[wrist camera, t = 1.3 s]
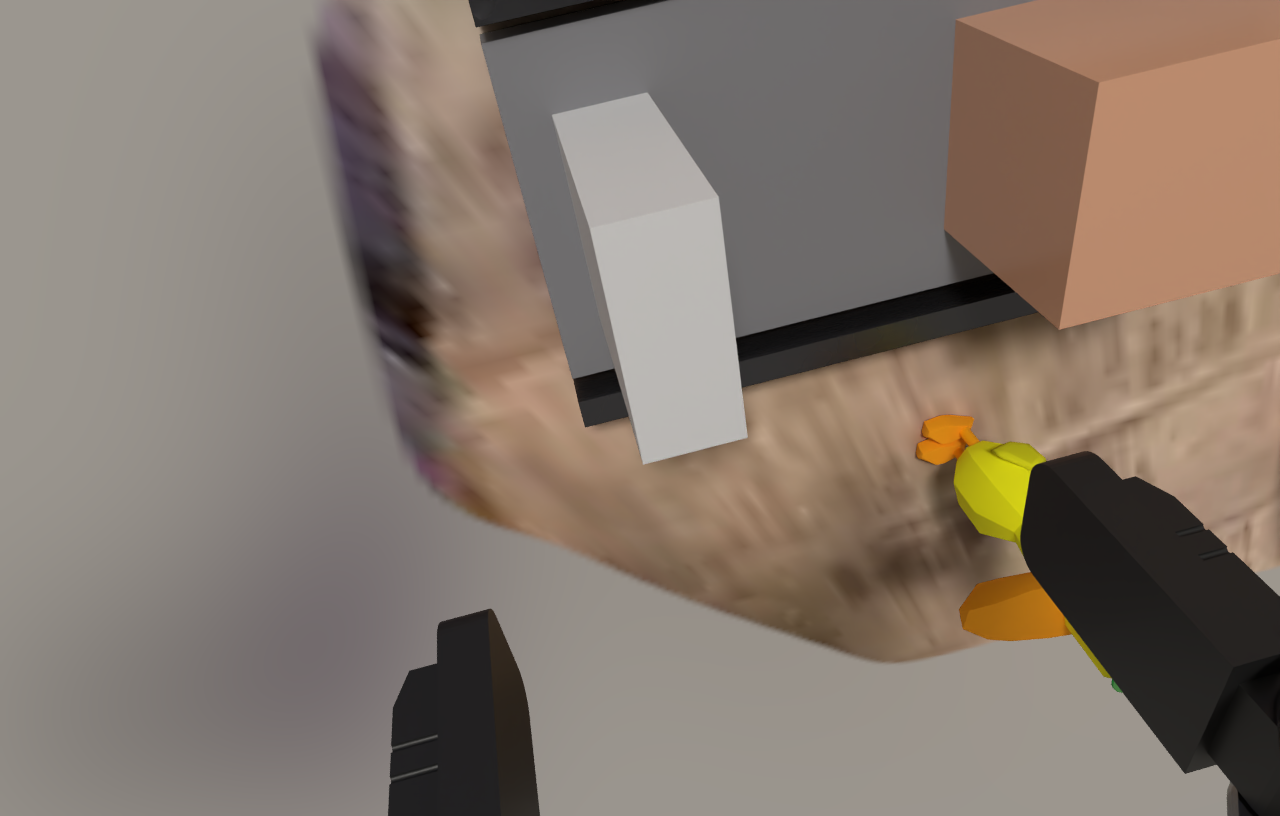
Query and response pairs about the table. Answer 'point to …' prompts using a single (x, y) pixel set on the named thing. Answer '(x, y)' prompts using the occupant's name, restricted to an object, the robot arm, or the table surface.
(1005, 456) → the toy figure
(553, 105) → the pull strip
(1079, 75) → the terracotta block
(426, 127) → the table surface
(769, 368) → the lane rails
